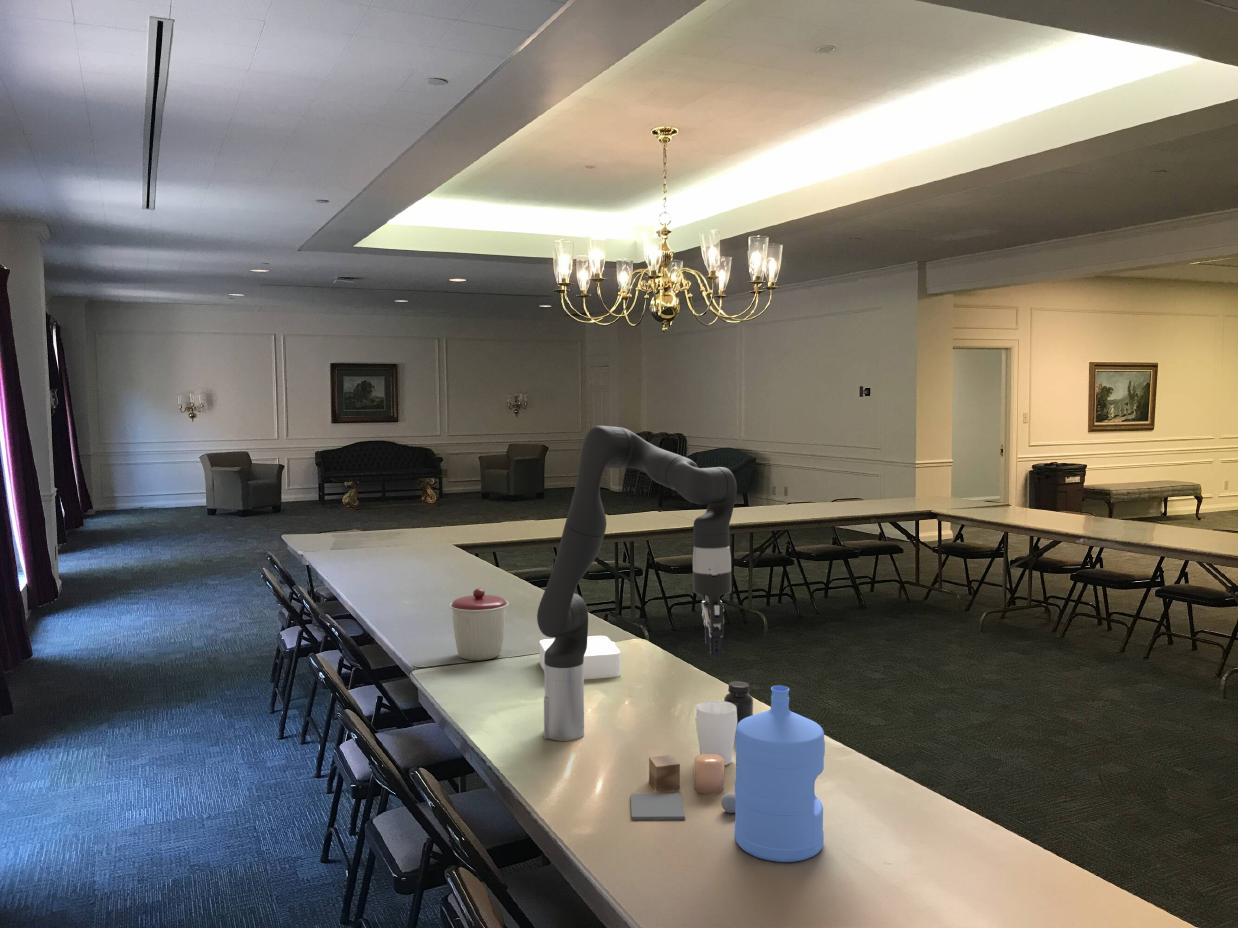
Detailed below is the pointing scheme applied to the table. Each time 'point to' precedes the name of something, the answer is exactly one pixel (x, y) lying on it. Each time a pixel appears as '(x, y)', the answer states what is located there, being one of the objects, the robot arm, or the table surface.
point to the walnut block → (664, 772)
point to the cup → (716, 728)
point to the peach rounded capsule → (709, 773)
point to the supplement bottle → (740, 699)
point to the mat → (657, 807)
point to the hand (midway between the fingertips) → (713, 650)
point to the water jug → (778, 783)
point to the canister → (479, 625)
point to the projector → (593, 657)
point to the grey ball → (729, 802)
